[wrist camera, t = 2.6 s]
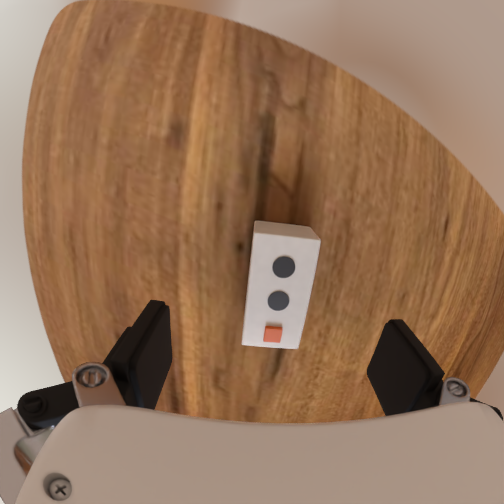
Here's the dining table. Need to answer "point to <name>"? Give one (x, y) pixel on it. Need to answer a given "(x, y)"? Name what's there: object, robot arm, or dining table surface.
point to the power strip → (279, 284)
